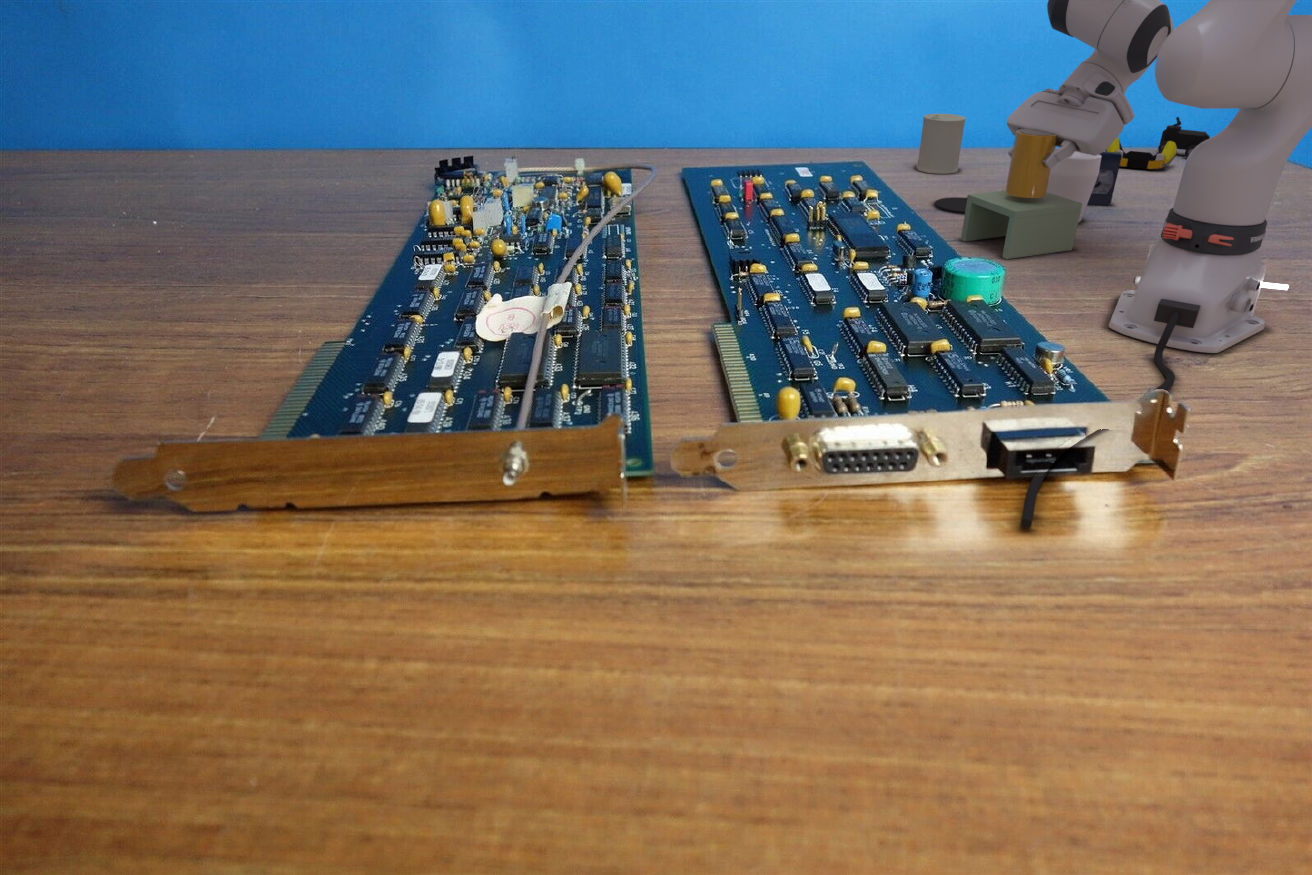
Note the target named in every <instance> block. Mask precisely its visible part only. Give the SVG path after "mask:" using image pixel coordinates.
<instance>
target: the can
mask: <svg viewBox="0 0 1312 875" xmlns="http://www.w3.org/2000/svg"><path fill="white" fill-rule="evenodd" d="M966 120H967V118H966V117H965V116H963V115H959V114H952V113H928V114H924V115H923V119H922V129H921V135H920V145H919V152H918V158H917V164H916V170H917V171H919V172H923V173H926V174H927V173H928V174H933V175H934V174H935V175H949V174H950V175H951V174H955V173H958V172H959V161H960V155H961V147H962V142H963V135H964V128H965V123H966Z"/></svg>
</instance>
